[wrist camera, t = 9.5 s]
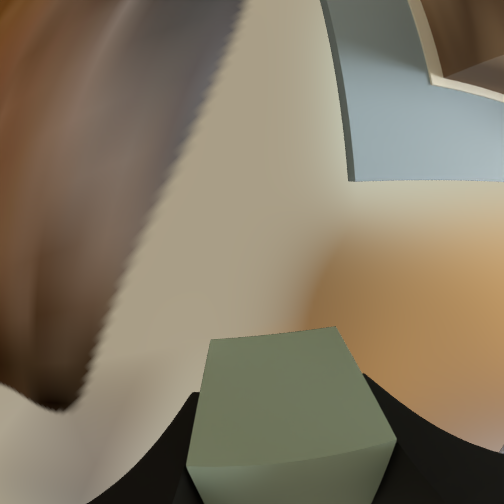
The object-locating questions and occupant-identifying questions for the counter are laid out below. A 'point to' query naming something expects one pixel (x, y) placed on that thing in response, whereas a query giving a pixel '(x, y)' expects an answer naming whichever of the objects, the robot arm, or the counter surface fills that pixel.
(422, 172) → the board
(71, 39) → the counter surface
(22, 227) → the counter surface
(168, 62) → the counter surface
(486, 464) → the robot arm
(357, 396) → the sage block
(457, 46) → the walnut block
